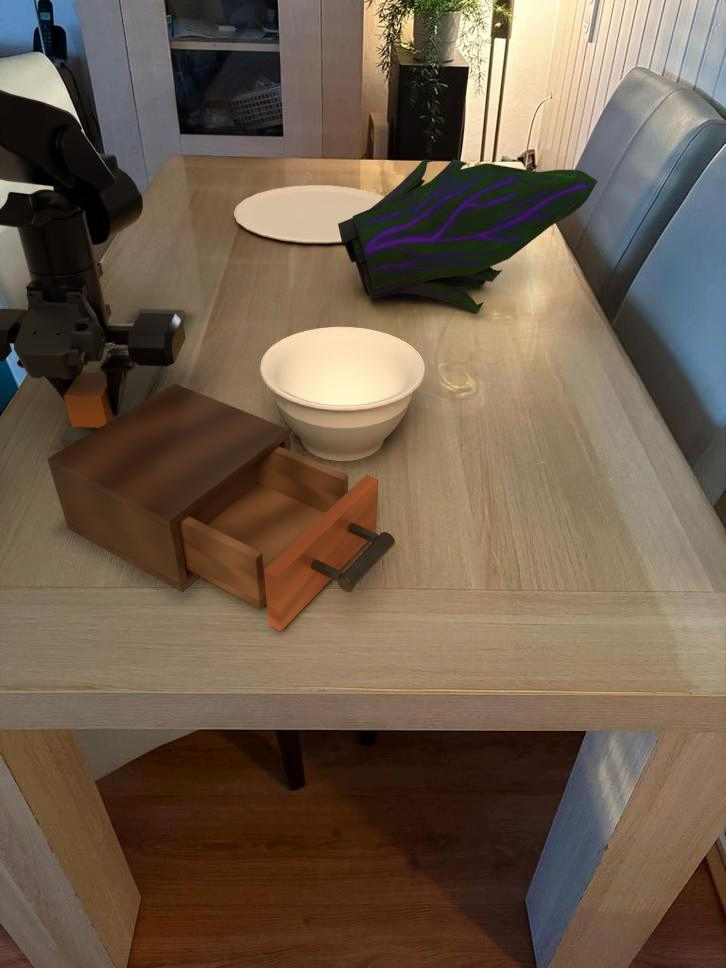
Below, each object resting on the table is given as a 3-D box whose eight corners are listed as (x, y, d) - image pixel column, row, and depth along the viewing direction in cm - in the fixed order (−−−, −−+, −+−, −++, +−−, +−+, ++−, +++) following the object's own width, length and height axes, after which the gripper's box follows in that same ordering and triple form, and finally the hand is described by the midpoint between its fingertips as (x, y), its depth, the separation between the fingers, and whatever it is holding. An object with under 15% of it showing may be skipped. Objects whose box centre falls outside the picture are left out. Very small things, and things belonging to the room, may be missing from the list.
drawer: (415, 549, 62) (420, 496, 59) (323, 655, 54) (322, 600, 50) (263, 481, 69) (259, 429, 66) (158, 565, 60) (147, 510, 57)
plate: (417, 244, 120) (418, 237, 119) (235, 251, 116) (235, 243, 115) (386, 189, 143) (386, 182, 142) (232, 193, 139) (232, 186, 138)
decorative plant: (366, 337, 114) (554, 278, 114) (380, 352, 89) (620, 277, 89) (326, 199, 109) (522, 137, 108) (328, 175, 84) (584, 94, 83)
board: (123, 449, 74) (121, 441, 74) (63, 447, 74) (61, 439, 74) (185, 316, 98) (184, 309, 97) (140, 315, 98) (138, 308, 97)
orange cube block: (108, 428, 73) (100, 397, 71) (71, 427, 73) (63, 396, 71) (120, 403, 77) (114, 372, 75) (86, 402, 77) (78, 371, 75)
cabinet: (293, 497, 69) (290, 429, 64) (182, 592, 59) (168, 520, 55) (184, 448, 75) (174, 382, 70) (67, 528, 65) (46, 458, 60)
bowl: (451, 442, 77) (459, 369, 71) (332, 505, 68) (332, 428, 63) (350, 381, 86) (351, 312, 81) (234, 430, 77) (227, 357, 72)
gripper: (-89, 298, 59) (-30, 457, 69) (145, 305, 59) (171, 463, 69) (-29, 247, 68) (17, 394, 78) (175, 253, 68) (195, 399, 78)
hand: (97, 412), depth 75 cm, fingers closed on orange cube block, 3 cm apart
